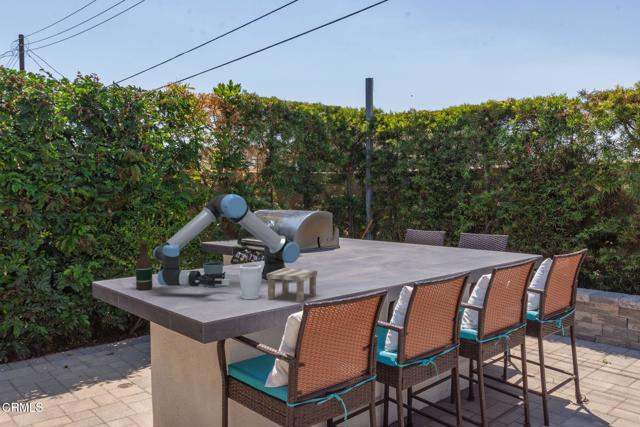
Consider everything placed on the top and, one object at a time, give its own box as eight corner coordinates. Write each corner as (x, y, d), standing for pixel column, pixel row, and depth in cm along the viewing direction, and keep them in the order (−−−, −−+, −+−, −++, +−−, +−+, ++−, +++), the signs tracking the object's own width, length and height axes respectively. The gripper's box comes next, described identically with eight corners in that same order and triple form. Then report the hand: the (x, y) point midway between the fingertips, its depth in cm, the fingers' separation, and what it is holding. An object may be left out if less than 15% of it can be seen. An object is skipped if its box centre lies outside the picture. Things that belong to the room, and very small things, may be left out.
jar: (240, 295, 234) (240, 264, 234) (262, 294, 235) (262, 264, 234) (238, 300, 224) (238, 267, 223) (261, 299, 225) (261, 267, 224)
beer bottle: (155, 288, 251) (155, 241, 250) (145, 291, 243) (144, 243, 242) (143, 287, 253) (142, 241, 252) (132, 290, 246) (132, 242, 245)
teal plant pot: (226, 285, 259) (226, 262, 258) (215, 288, 250) (215, 265, 249) (211, 283, 263) (211, 261, 262) (199, 287, 254) (199, 264, 253)
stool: (266, 299, 225) (266, 273, 224) (283, 292, 242) (283, 268, 241) (302, 303, 218) (302, 276, 218) (317, 295, 235) (317, 270, 234)
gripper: (200, 281, 245) (241, 282, 242) (180, 291, 220) (225, 292, 218) (200, 266, 245) (241, 267, 242) (179, 275, 220) (225, 276, 217)
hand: (233, 279), depth 230 cm, fingers open, 13 cm apart
